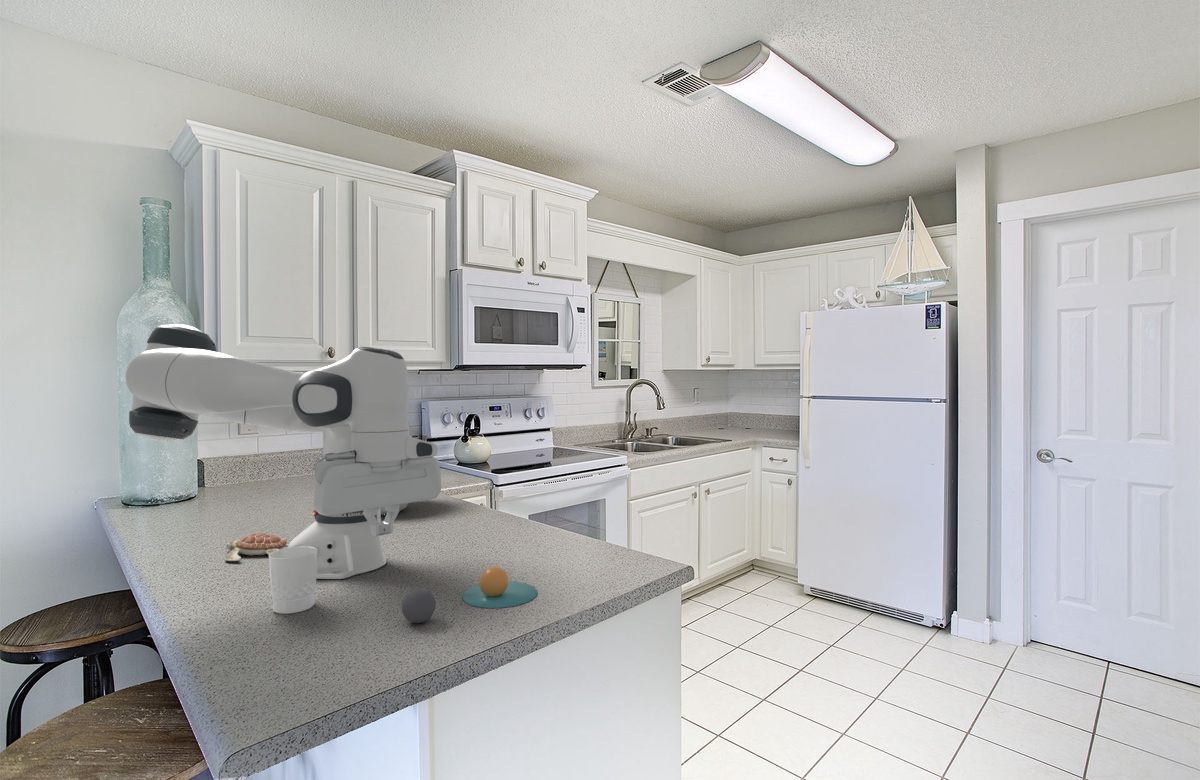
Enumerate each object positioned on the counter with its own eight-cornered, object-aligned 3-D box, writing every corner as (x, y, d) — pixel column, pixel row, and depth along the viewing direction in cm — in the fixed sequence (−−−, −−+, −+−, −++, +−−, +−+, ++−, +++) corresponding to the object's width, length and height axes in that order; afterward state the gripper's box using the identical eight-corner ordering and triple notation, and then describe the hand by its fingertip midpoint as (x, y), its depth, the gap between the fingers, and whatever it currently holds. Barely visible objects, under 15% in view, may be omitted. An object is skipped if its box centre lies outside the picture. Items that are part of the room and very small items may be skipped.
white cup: (281, 600, 113) (280, 546, 113) (324, 598, 113) (324, 545, 113) (261, 616, 105) (260, 559, 105) (308, 614, 106) (307, 557, 105)
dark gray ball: (426, 577, 103) (444, 596, 105) (398, 588, 103) (417, 607, 106) (420, 604, 98) (439, 623, 101) (392, 615, 99) (411, 634, 101)
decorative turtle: (252, 543, 155) (252, 524, 155) (313, 545, 153) (313, 525, 153) (198, 565, 137) (197, 543, 137) (267, 567, 135) (266, 544, 135)
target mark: (493, 614, 105) (493, 613, 105) (447, 595, 115) (447, 594, 115) (552, 593, 116) (552, 592, 116) (505, 577, 125) (505, 576, 125)
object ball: (513, 578, 118) (499, 604, 115) (489, 565, 118) (474, 591, 116) (514, 571, 113) (498, 599, 110) (488, 558, 114) (472, 584, 111)
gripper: (324, 456, 87) (325, 551, 87) (445, 444, 102) (446, 526, 102) (305, 452, 91) (306, 544, 91) (425, 442, 106) (425, 520, 107)
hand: (381, 534), depth 97 cm, fingers closed
